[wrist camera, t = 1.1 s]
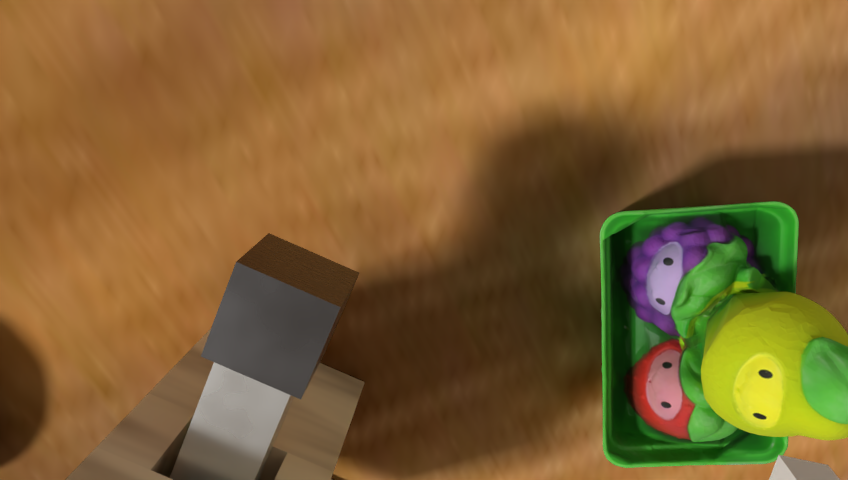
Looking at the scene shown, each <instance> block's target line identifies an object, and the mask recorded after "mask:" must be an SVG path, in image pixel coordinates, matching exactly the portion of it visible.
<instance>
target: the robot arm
mask: <svg viewBox="0 0 848 480" xmlns="http://www.w3.org/2000/svg"><path fill="white" fill-rule="evenodd" d="M769 480H840V479H839V478H838V477H837V476H836V474H835V473H834V472H833V471H832V469H831V468H830V467H829V466H828V465H825V464H820V463H815V462H811V461H806V460H801V459H796V458H791V457H786V456H782V455H778V458H777V460H776V463H775V466H774V468H773V471H772V474H771V476H770V479H769Z"/></svg>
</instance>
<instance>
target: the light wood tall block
mask: <svg viewBox="0 0 848 480" xmlns="http://www.w3.org/2000/svg"><path fill="white" fill-rule="evenodd" d="M210 330H211V329H210ZM210 330H209V331H208V332H207V333H206V334H205V335H204V336H203V337H202V338H201V339H200V340H199V341H198V342H197V343H196V344H195V345H194V346H193V347H192V349H191V350H190V351H189V352H188V353H187V354H186V355H185V356H184V357H183V358H182V359H181V360H180V361H179V362H178V363H177V364H176V365H175V366H174V367H173V368H172V369H171V370H170V371H169V372H168V373H167V375H166V376H165V377H164V378H163V379H162V380H161V381H160V382H159V383H158V384H157V385H156V386H155V387H154V388H153V389H152V390H151V391H150V392H149V393H148V394H147V395H146V396H145V397H144V398H143V399H142V400H141V402H140V403H139V404H138V405H137V406H136V407H135V408H134V409H133V410H132V411H131V412H130V413H129V414H128V415H127V416H126V417H125V418H124V419H123V420H122V421H121V422H120V423H119V424H118V425H117V426H116V428H115V429H114V430H113V431H112V432H111V433H110V434H109V435H108V436H107V437H106V438H105V439H104V440H103V441H102V442H101V443H100V444H99V445H98V446H97V447H96V448H95V449H94V450H93V451H92V452H91V454H90V455H89V456H88V457H87V458H86V459H85V460H84V461H83V462H82V463H81V464H80V465H79V466H78V467H77V468H76V469H75V470H74V471H73V472H72V473H71V474H70V475H69V476H68V477H67V478H66V480H173V479H170V475H171V473H172V470H173V468H174V465H175V462H176V460H177V457H178V455H179V452H180V449H181V447H182V444H183V442H184V439H185V436H186V434H187V431H188V429H189V426H190V423H191V421H192V418H193V415H194V413H195V410H196V408H197V405H198V402H199V400H200V397H201V395H202V392H203V389H204V387H205V384H206V382H207V379H208V376H209V374H210V371H211V369H212V366H213V363H214V362H212V361H210V360H208V359H205V358H203V357H201V354H202V352H203V349H204V346H205V344H206V341H207V338H208V336H209V333H210ZM364 383H365V382H363V381H361V380H358V379H356V378H354V377H351V376H349V375H347V374H345V373H342V372H340V371H338V370H335V369H333V368H331V367H328V366H326V365H324V364H321V363H320V364H319V365H318V367H317V369H316V371H315V373H314V375H313V377H312V379H311V381H310V383H309V385H308V387H307V389H306V391H305V393H304V395H303V397H302V399H301V400H300V399H298V398H296V397H294V398H293V401H292V403H291V405H290V408H289V410H288V412H287V415H286V417H285V419H284V422H283V424H282V426H281V429H280V431H279V433H278V436H277V438H276V440H275V443H274V445H273V447H272V450H271V452H270V454H269V457H268V459H267V461H266V464H265V466H264V469H263V471H262V473H261V476H260V478H259V480H331V477H332V474H333V471H334V469H335V466H336V463H337V460H338V457H339V454H340V452H341V449H342V446H343V443H344V440H345V437H346V434H347V432H348V429H349V426H350V423H351V420H352V417H353V414H354V412H355V409H356V406H357V403H358V400H359V397H360V395H361V392H362V389H363V386H364Z"/></svg>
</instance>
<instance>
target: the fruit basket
mask: <svg viewBox="0 0 848 480" xmlns="http://www.w3.org/2000/svg"><path fill="white" fill-rule="evenodd" d="M798 229H799V221H798V216H797V214H796V212H795V210H794V209H793V208H791V207H790V206H789V205H787V204H785V203H782V202H776V201H770V202H755V203H741V204H728V205H713V206H699V207H683V208H667V209H652V210H633V211H622V212H617V213H615V214H613V215H611V216H610V217H609V218H607V219H606V220H605V222H604V223H603V225H602V228H601V230H600V257H601V298H602V309H601V321H602V387H603V450H604V454H605V456H606V458H607V459H608V460H609V461H610V462H611V463H613V464H614V465H616V466H620V467H625V468H634V467H659V466H684V465H738V464H739V465H744V464H766V463H771V462H774V461H775V460H777V458H778V455H783V454H784V453H785V451H786V450H787V447H788V436H796V435H801V436H806V437H810V438H815V439H820V440H838V439H844V438H847V437H848V334H847V332H846V331H845V329H844V328H843V327H842V325H841V324H840V323H839V321H838V320H837V319H836V318H835V317H834V316H833V315H832V314H831V313H830V312H828V311H827V310H826V309H825V308H823V307H822V306H820V305H819V304H817V303H815V302H814V301H812V300H810V299H807V298H805V297H803V296H800V295H798V294H796V274H797V254H798Z"/></svg>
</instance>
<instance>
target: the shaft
mask: <svg viewBox="0 0 848 480" xmlns="http://www.w3.org/2000/svg"><path fill="white" fill-rule="evenodd" d="M358 275H359V273H358V272H356V271H354V270H351V269H349V268H347V267H345V266H342V265H340V264H338V263H335V262H333V261H331V260H329V259H326V258H324V257H322V256H320V255H317V254H315V253H313V252H310V251H308V250H306V249H304V248H301V247H299V246H297V245H294V244H292V243H290V242H288V241H285V240H283V239H281V238H278V237H276V236H274V235H272V234H268V235H266V236H265V237H264V238H263V239H262V240H261V241H260V242H258V243H257V244H256V245H255V246H254V247H253V248H252V249H250V250H249V251H248V252H247V253H246V254H245V255H244V256H242V257H241V258H240V259H239V260H238V261H237V262H236V264H235V267H234V269H233V272H232V275H231V277H230V280H229V283H228V285H227V288H226V291H225V293H224V296H223V299H222V301H221V304H220V307H219V309H218V312H217V314H216V317H215V320H214V322H213V325H212V328H211V330H210V333H209V336H208V338H207V341H206V344H205V346H204V349H203V352H202V354H201V357H203V358H205V359H208V360H210V361H212V362H214V363H213V366H212V369H211V371H210V374H209V376H208V379H207V382H206V384H205V387H204V389H203V392H202V395H201V397H200V400H199V402H198V405H197V408H196V410H195V413H194V415H193V418H192V421H191V423H190V426H189V429H188V431H187V434H186V436H185V439H184V442H183V444H182V447H181V449H180V452H179V455H178V457H177V460H176V462H175V465H174V468H173V470H172V473H171V475H170V479H173V480H259V478H260V476H261V473H262V471H263V469H264V466H265V464H266V461H267V459H268V457H269V454H270V452H271V450H272V447H273V445H274V443H275V440H276V438H277V436H278V433H279V431H280V429H281V426H282V424H283V422H284V419H285V417H286V415H287V412H288V410H289V408H290V405H291V403H292V401H293V398H294V397H296V398H298V399H300V400H301V399H302V397H303V395H304V393H305V391H306V389H307V387H308V385H309V383H310V381H311V379H312V377H313V375H314V373H315V371H316V369H317V367H318V365H319V364H320V362H321V360H322V358H323V356H324V354H325V351H326V349H327V347H328V344H329V342H330V340H331V337H332V335H333V333H334V330H335V328H336V326H337V324H338V321H339V319H340V317H341V314H342V312H343V310H344V307H345V305H346V303H347V300H348V298H349V296H350V293H351V291H352V289H353V286H354V284H355V282H356V280H357V277H358Z"/></svg>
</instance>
